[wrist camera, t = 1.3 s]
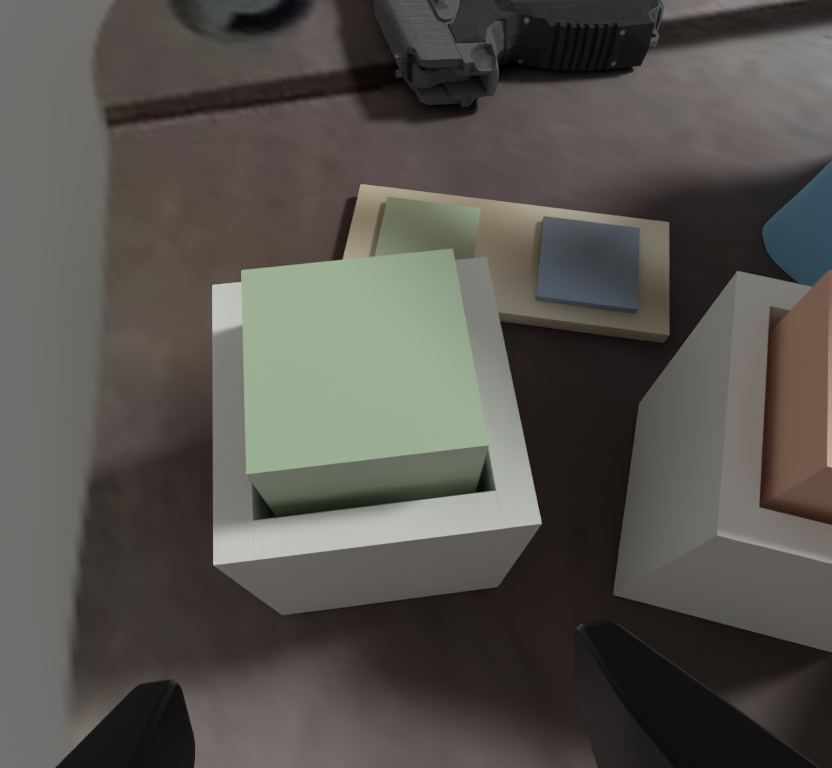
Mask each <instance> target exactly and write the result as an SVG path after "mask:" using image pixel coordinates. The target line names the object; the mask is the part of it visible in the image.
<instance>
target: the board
mask: <svg viewBox="0 0 832 768" xmlns="http://www.w3.org/2000/svg"><path fill="white" fill-rule="evenodd" d="M444 249H453V252H454V257H455V260H459V259H469V258H479V257H487V261H488V266H489V270H490V275H491V280H492V285H493V290H494V295H495V299H496V304H497V309H498V314H499V319H500V321H502V322H509V323H517V324H524V325H532V326H539V327H546V328H554V329H561V330H569V331H576V332H584V333H591V334H599V335H606V336H614V337H621V338H629V339H636V340H643V341H651V342H658V343H664V342H665V341H666V340H667V338H668V337H669V335H670V324H669V222H664V221H656V220H647V219H639V218H631V217H623V216H615V215H607V214H599V213H591V212H583V211H575V210H567V209H558V208H550V207H542V206H534V205H526V204H518V203H510V202H502V201H494V200H486V199H478V198H469V197H461V196H453V195H445V194H437V193H429V192H421V191H413V190H405V189H397V188H389V187H380V186H372V185H364V184H361V185H360V189H359V194H358V198H357V202H356V206H355V210H354V214H353V219H352V223H351V227H350V231H349V235H348V239H347V244H346V248H345V252H344V256H343V260H346V259H356V258H366V257H375V256H385V255H395V254H405V253H414V252H424V251H434V250H444Z"/></svg>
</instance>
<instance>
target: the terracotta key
mask: <svg viewBox="0 0 832 768" xmlns="http://www.w3.org/2000/svg"><path fill="white" fill-rule="evenodd" d="M759 507H760V508H764V509H768V510H772V511H776V512H781V513H785V514H789V515H793V516H797V517H801V518H805V519H809V520H813V521H817V522H821V523H825V524H829V525H832V270H828V271H827V272H826V273H825V274H824V275H823V276H822V277H821V279H820V280H819V281H818V282H817V283H816V284H815V285H814V286H813V287H812V288H811V289H810V290H809V291H808V292H807V293H806V294H805V295H804V297H803V298H802V299H801V300H800V301H799V302H798V303H797V304H796V305H795V306H794V307H793V308H792V309H791V310H790V311H789V312H788V313H787V314H786V316H785V317H784V318H783V319H782V320H781V321H780V322H779V323H778V324H777V325H776V326H775V327H774V328H773V329H772V330H771V331H770V332H769V333H768V348H767V367H766V387H765V406H764V425H763V444H762V463H761V483H760V502H759Z"/></svg>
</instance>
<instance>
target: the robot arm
mask: <svg viewBox="0 0 832 768" xmlns="http://www.w3.org/2000/svg"><path fill="white" fill-rule="evenodd" d="M575 687H576V694H577V699H578V703H579V707H580V710H581V713H582V717H583V720H584V723H585V727H586V730H587V733H588V737H589V740H590V743H591V747H592V750H593V753H594V756H595V760H596V763H597V766H598V768H820V767H819V766H817V765H816V764H815V763H813V762H812V761H810V760H809V759H808V758H806V757H805V756H803V755H802V754H801V753H799V752H798V751H796V750H795V749H794V748H792V747H791V746H789V745H788V744H786V743H785V742H784V741H782V740H781V739H779V738H778V737H777V736H775V735H774V734H772V733H771V732H770V731H768V730H767V729H765V728H764V727H762V726H761V725H760V724H758V723H757V722H755V721H754V720H753V719H751V718H750V717H748V716H747V715H746V714H744V713H743V712H741V711H740V710H739V709H737V708H736V707H734V706H733V705H731V704H730V703H729V702H727V701H726V700H724V699H723V698H722V697H720V696H719V695H717V694H716V693H715V692H713V691H712V690H710V689H709V688H708V687H706V686H705V685H703V684H702V683H700V682H699V681H698V680H696V679H695V678H693V677H692V676H691V675H689V674H688V673H686V672H685V671H684V670H682V669H681V668H679V667H678V666H677V665H675V664H674V663H672V662H671V661H669V660H668V659H667V658H665V657H664V656H662V655H661V654H660V653H658V652H657V651H655V650H654V649H653V648H651V647H650V646H648V645H647V644H645V643H644V642H643V641H641V640H640V639H638V638H637V637H636V636H634V635H633V634H631V633H630V632H629V631H627V630H626V629H624V628H623V627H622V626H620V625H619V624H617V623H615V622H613V621H608V620H606V621H599V622H591V623H584V624H580V625H579V626H578V627H577V628H576V631H575ZM194 763H195V740H194V734H193V730H192V727H191V723H190V719H189V715H188V711H187V707H186V703H185V699H184V695H183V692H182V689H181V687H180V685H179V683H178V682H176V681H174V680H164V681H157V682H150V683H143V684H140V685H138V686H137V687H135V688H134V689H133V690H132V691H131V692H130V693H129V694H128V695H127V696H126V697H125V698H124V699H123V700H122V701H121V702H120V703H119V704H118V705H117V706H116V707H115V708H114V709H113V710H112V711H111V712H110V713H109V714H108V715H107V716H106V717H105V718H104V719H103V720H102V721H101V722H100V723H99V724H98V725H97V726H96V727H95V728H94V729H93V730H92V731H91V732H90V733H89V734H88V735H87V736H86V737H85V738H84V739H83V740H82V741H81V742H80V743H79V744H78V745H77V746H76V747H75V748H74V749H73V750H72V751H71V752H70V753H69V754H68V755H67V756H66V757H65V758H64V759H63V760H62V761H61V762H60V764H59V765H58V766H57V767H56V768H194Z"/></svg>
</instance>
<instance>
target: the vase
mask: <svg viewBox="0 0 832 768" xmlns="http://www.w3.org/2000/svg"><path fill="white" fill-rule="evenodd" d="M762 237H763V241H764V245H765V249H766V251H767V253H768V254H769V256H770V257H771V259H772V260H773V261H774V262H775V263H776V264H777V265H778V266H779V267H780V268H781V269H782V270H783V271H784V272H786V273H787V274H788V275H789V276H790V277H791V278H793V279H794V280H795V281H796V282H797V283H798V284H801V285H806V286H811V287H813V286H814V285H815V284H816V283H817V282H818V281H819V280H820V279H821V277H822V276H823V275H824V274H825V273H826V272H827V271H828V270H832V160H831V161H830V162H829V163H828V164H827V165H826V166H825V167H824V169H823V170H822V171H821V172H820V173H819V174H818V175H817V176H816V177H815V178H814V179H813V180H812V181H810V182H809V183H808V184H807V185H806V186H805V187H804V188H803V189H802V190H801V191H800V192H799V193H798V194H797V195H796V196H794V197H793V198H792V199H791V200H790V201H789V202H788V203H787V204H786V205H785V206H783V207H782V208H781V209H780V210H779V211H778V212H777V213H776V214H775V215H774V216H773V217H771V218H770V220H769V221H768V222H767V223H766V224H765V225H764V227H763V230H762Z"/></svg>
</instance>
